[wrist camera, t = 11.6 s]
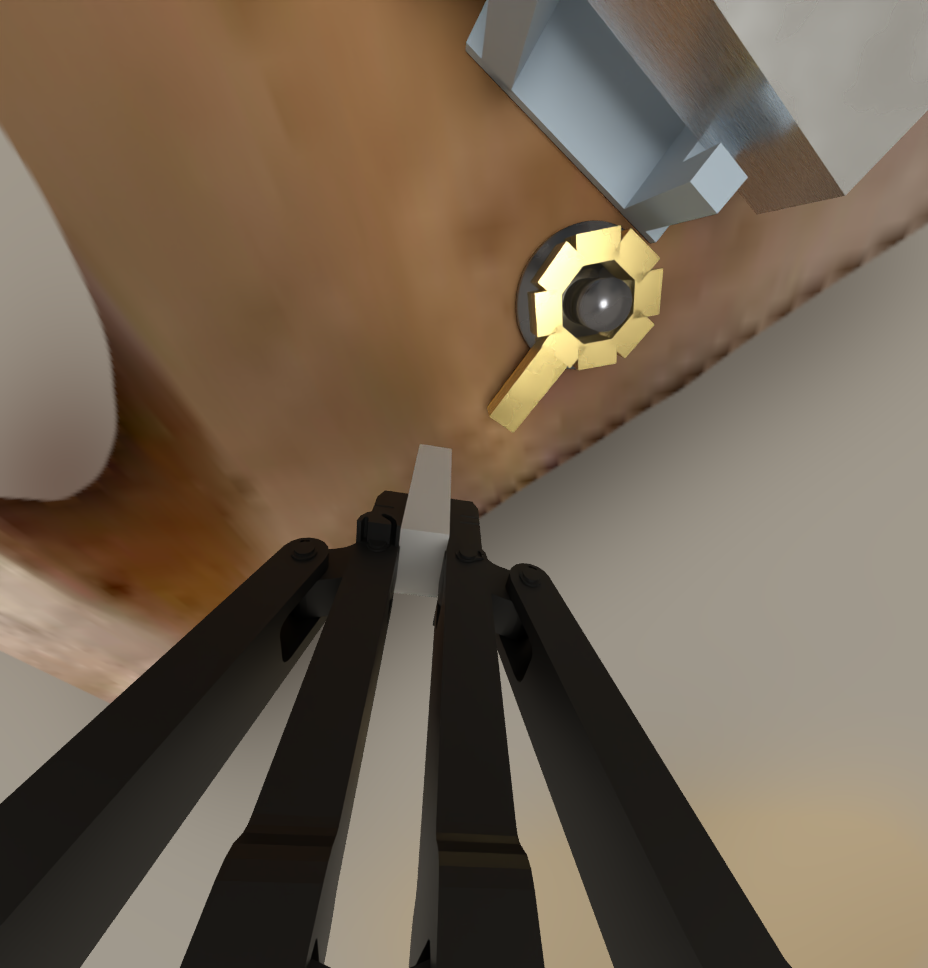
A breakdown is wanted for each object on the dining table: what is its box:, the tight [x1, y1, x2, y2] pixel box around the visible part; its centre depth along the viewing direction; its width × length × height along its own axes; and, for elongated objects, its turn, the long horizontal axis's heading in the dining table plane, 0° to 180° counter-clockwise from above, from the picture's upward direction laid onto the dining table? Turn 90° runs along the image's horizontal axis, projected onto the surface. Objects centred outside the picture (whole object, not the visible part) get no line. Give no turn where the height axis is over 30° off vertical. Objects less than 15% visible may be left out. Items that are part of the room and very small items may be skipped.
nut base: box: [516, 221, 632, 369], centre depth 23 cm, size 9×9×6 cm
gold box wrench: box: [487, 225, 663, 433], centre depth 24 cm, size 13×8×3 cm, turn 145°
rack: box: [466, 0, 748, 243], centre depth 16 cm, size 15×10×8 cm, turn 55°
